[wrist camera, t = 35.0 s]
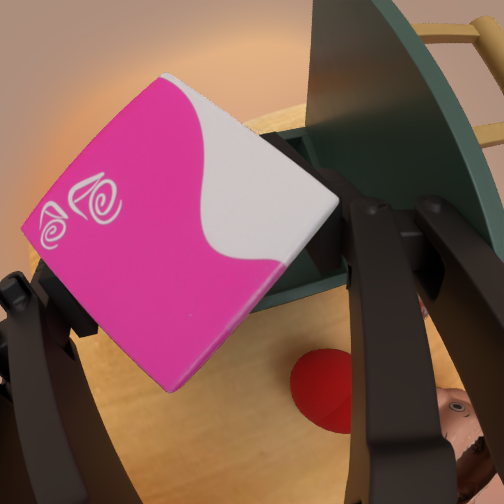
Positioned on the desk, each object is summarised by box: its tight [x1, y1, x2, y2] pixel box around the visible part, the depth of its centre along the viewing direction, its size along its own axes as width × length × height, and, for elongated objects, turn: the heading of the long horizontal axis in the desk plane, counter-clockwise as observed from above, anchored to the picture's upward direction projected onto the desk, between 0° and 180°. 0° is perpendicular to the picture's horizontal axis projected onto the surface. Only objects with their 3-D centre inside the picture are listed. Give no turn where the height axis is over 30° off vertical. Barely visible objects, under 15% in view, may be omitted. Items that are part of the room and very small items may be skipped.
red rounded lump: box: [290, 349, 352, 434], centre depth 28 cm, size 9×7×10 cm
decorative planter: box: [436, 387, 497, 504], centre depth 25 cm, size 20×12×14 cm, turn 34°
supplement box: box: [21, 72, 339, 393], centre depth 12 cm, size 6×6×12 cm
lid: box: [305, 0, 504, 263], centre depth 16 cm, size 19×14×8 cm
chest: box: [249, 127, 348, 314], centre depth 30 cm, size 18×14×9 cm
